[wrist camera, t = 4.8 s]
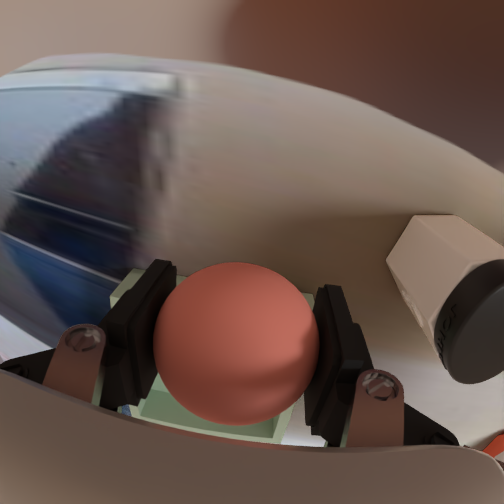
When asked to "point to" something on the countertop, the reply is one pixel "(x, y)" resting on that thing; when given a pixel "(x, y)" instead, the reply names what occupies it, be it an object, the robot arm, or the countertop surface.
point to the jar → (454, 292)
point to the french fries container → (496, 448)
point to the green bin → (175, 415)
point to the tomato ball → (236, 343)
